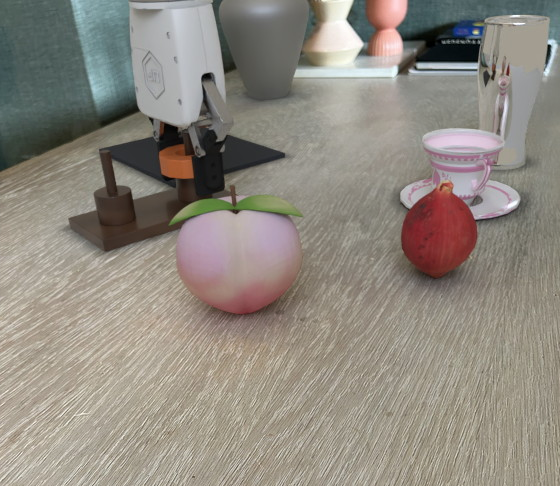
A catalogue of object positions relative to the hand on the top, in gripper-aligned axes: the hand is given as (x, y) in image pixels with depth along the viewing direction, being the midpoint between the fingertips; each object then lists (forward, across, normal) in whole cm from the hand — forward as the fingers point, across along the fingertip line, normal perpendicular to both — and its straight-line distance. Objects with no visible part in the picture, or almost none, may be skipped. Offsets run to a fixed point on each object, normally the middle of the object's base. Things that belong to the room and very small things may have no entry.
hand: (192, 183), depth 70 cm
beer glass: (+3, +13, +34) cm, 36 cm away
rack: (+3, 0, -4) cm, 5 cm away
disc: (-2, 0, 0) cm, 2 cm away
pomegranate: (+3, +28, +6) cm, 29 cm away
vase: (+3, -37, +38) cm, 53 cm away
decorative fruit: (+3, +22, -9) cm, 24 cm away
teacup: (+3, +18, +21) cm, 28 cm away
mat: (+3, -17, +10) cm, 20 cm away
